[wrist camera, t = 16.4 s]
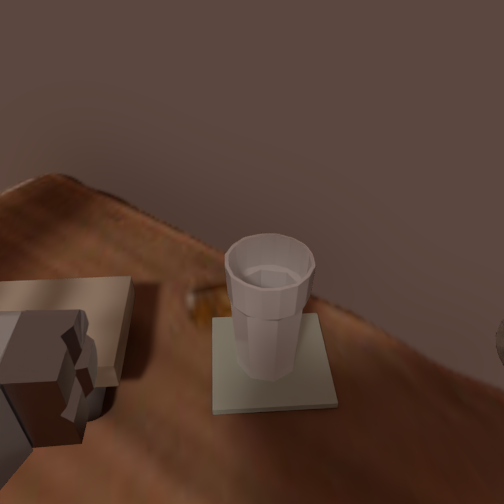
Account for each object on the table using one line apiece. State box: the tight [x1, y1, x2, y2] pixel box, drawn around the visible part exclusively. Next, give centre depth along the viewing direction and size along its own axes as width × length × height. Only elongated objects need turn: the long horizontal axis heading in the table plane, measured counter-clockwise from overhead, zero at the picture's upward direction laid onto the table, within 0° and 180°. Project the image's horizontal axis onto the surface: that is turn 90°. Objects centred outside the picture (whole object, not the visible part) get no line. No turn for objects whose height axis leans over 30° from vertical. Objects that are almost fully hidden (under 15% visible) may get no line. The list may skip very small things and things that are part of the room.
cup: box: [225, 233, 316, 382], centre depth 39 cm, size 7×7×11 cm
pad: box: [212, 313, 338, 415], centre depth 42 cm, size 10×10×1 cm
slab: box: [0, 276, 135, 422], centre depth 41 cm, size 14×12×5 cm
